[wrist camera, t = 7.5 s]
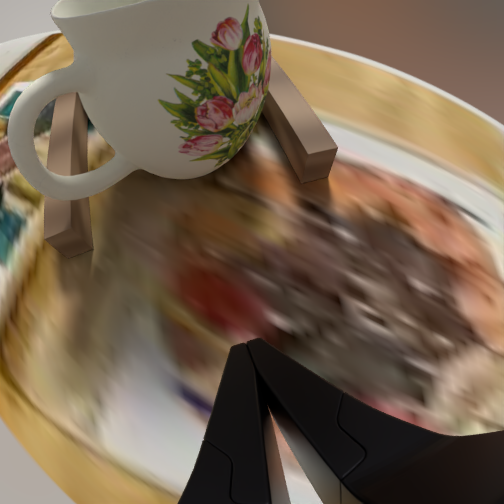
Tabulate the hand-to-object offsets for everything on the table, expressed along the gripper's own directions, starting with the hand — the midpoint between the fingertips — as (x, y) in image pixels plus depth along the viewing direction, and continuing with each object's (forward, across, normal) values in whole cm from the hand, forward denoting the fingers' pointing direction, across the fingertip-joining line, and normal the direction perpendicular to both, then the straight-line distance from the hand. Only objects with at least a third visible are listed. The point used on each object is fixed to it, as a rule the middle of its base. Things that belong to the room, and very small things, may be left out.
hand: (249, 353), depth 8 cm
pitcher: (+16, 0, -5) cm, 17 cm away
